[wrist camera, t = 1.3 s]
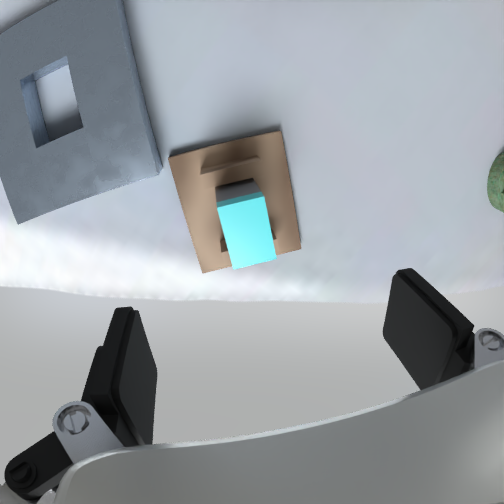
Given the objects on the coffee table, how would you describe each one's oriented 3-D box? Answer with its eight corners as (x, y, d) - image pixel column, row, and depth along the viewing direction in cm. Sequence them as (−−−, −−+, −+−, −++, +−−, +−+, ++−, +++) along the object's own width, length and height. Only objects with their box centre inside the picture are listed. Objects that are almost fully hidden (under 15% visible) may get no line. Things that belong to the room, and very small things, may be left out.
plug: (251, 175, 34) (264, 196, 27) (262, 226, 37) (276, 258, 29) (214, 184, 34) (216, 207, 27) (227, 234, 36) (233, 269, 29)
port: (120, -13, 23) (112, -23, 20) (162, 168, 33) (158, 175, 30) (-11, 54, 23) (-27, 52, 19) (30, 214, 33) (17, 224, 29)
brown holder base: (279, 130, 33) (287, 134, 29) (299, 245, 39) (308, 260, 36) (169, 156, 33) (164, 163, 29) (202, 269, 39) (202, 286, 35)
